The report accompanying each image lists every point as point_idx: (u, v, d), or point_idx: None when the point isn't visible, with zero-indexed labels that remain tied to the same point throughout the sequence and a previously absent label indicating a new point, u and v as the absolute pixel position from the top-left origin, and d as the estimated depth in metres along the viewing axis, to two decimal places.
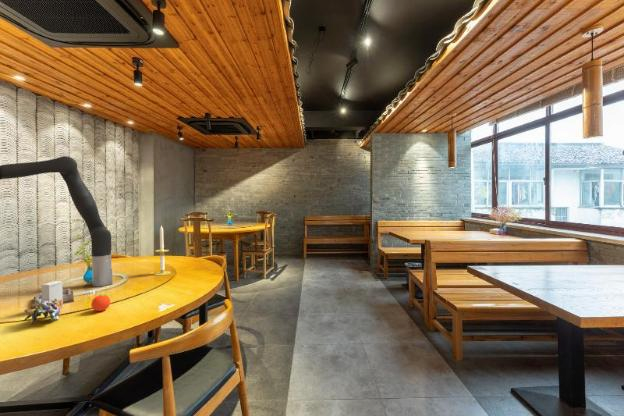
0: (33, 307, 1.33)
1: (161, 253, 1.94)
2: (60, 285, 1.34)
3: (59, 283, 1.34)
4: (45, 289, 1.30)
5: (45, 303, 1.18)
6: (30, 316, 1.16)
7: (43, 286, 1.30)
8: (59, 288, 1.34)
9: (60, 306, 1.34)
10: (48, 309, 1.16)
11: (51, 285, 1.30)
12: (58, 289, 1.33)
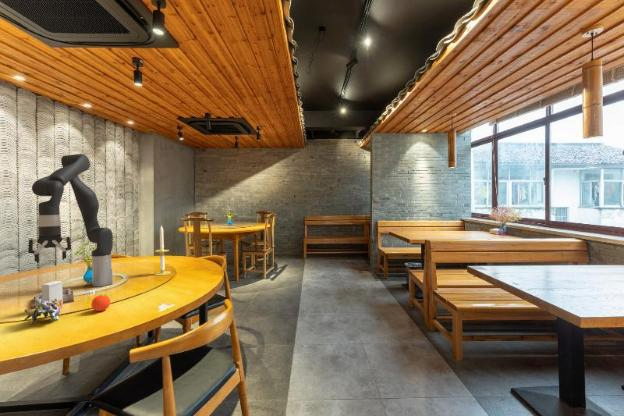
0: (33, 307, 1.33)
1: (161, 253, 1.94)
2: (60, 285, 1.34)
3: (59, 283, 1.34)
4: (45, 289, 1.30)
5: (45, 303, 1.18)
6: (30, 316, 1.16)
7: (43, 286, 1.30)
8: (59, 288, 1.34)
9: (60, 306, 1.34)
10: (48, 309, 1.16)
11: (51, 285, 1.30)
12: (58, 289, 1.33)
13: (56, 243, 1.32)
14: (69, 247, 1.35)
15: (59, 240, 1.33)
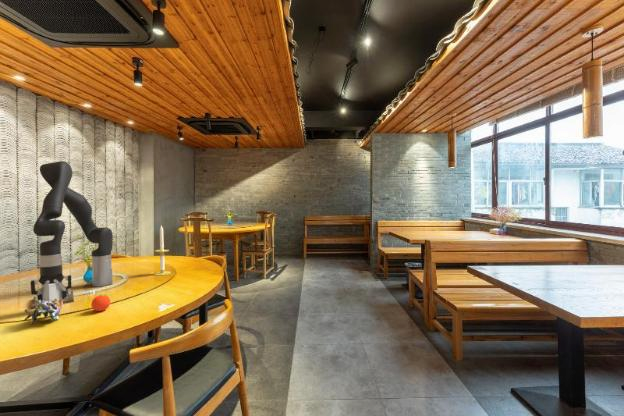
0: (33, 307, 1.33)
1: (161, 253, 1.94)
2: None
3: None
4: (45, 289, 1.30)
5: (45, 303, 1.18)
6: (30, 316, 1.16)
7: None
8: (59, 288, 1.34)
9: (60, 306, 1.34)
10: (48, 309, 1.16)
11: (51, 285, 1.30)
12: (58, 289, 1.33)
13: (57, 282, 1.32)
14: (69, 286, 1.35)
15: (60, 279, 1.33)
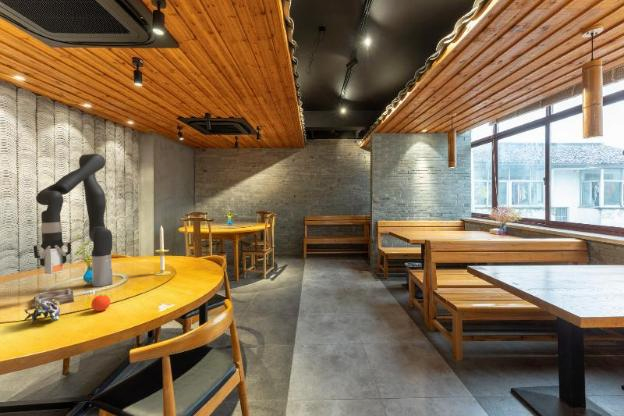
0: (33, 307, 1.33)
1: (161, 253, 1.94)
2: None
3: None
4: (47, 253, 1.42)
5: (45, 303, 1.18)
6: (30, 316, 1.16)
7: None
8: (60, 253, 1.46)
9: (61, 270, 1.47)
10: (48, 309, 1.16)
11: (52, 250, 1.42)
12: (59, 254, 1.45)
13: (58, 248, 1.45)
14: (69, 252, 1.48)
15: (61, 245, 1.46)
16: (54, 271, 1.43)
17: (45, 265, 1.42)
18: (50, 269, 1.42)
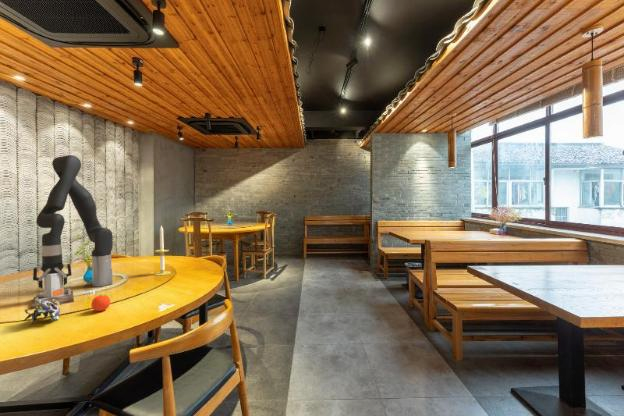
0: (33, 307, 1.33)
1: (161, 253, 1.94)
2: (61, 275, 1.47)
3: None
4: (47, 278, 1.43)
5: (45, 303, 1.18)
6: (30, 316, 1.16)
7: (46, 276, 1.43)
8: (60, 278, 1.47)
9: (61, 294, 1.47)
10: (48, 309, 1.16)
11: (53, 275, 1.43)
12: (59, 279, 1.46)
13: (58, 270, 1.45)
14: (70, 273, 1.49)
15: (61, 267, 1.46)
16: (54, 296, 1.44)
17: (45, 290, 1.43)
18: (50, 294, 1.43)
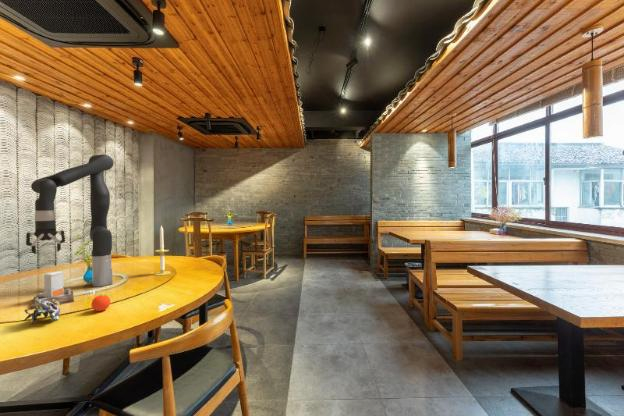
0: (33, 307, 1.33)
1: (161, 253, 1.94)
2: (61, 275, 1.47)
3: (60, 273, 1.47)
4: (47, 278, 1.43)
5: (45, 303, 1.18)
6: (30, 316, 1.16)
7: (46, 276, 1.43)
8: (60, 278, 1.47)
9: (61, 294, 1.47)
10: (48, 309, 1.16)
11: (53, 275, 1.43)
12: (59, 279, 1.46)
13: (51, 236, 1.45)
14: (63, 240, 1.48)
15: (54, 233, 1.46)
16: (54, 296, 1.44)
17: (45, 290, 1.43)
18: (50, 294, 1.43)
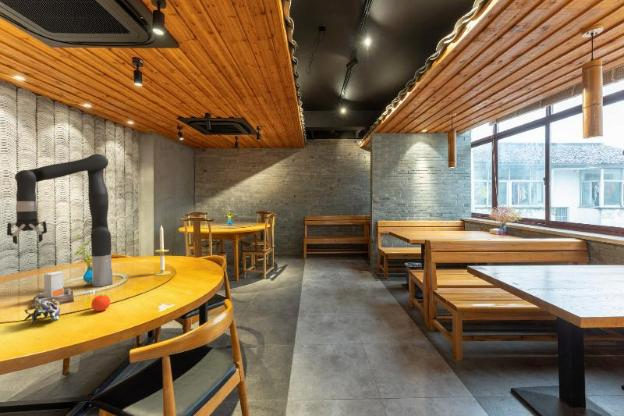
0: (33, 307, 1.33)
1: (161, 253, 1.94)
2: (61, 275, 1.47)
3: (60, 273, 1.47)
4: (47, 278, 1.43)
5: (45, 303, 1.18)
6: (30, 316, 1.16)
7: (46, 276, 1.43)
8: (60, 278, 1.47)
9: (61, 294, 1.47)
10: (48, 309, 1.16)
11: (53, 275, 1.43)
12: (59, 279, 1.46)
13: (33, 227, 1.46)
14: (45, 231, 1.50)
15: (36, 224, 1.48)
16: (54, 296, 1.44)
17: (45, 290, 1.43)
18: (50, 294, 1.43)
